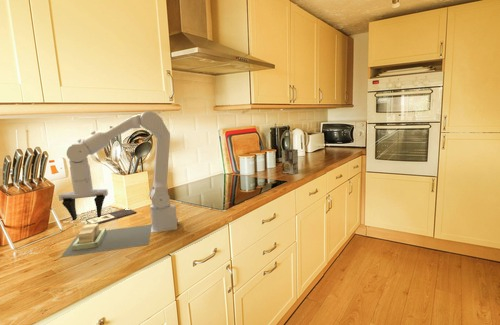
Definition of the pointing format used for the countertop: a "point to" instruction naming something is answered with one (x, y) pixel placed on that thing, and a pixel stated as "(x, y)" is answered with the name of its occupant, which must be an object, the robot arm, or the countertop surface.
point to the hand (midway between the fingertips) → (87, 217)
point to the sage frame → (91, 244)
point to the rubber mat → (116, 240)
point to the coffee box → (290, 161)
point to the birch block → (89, 233)
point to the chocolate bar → (111, 216)
